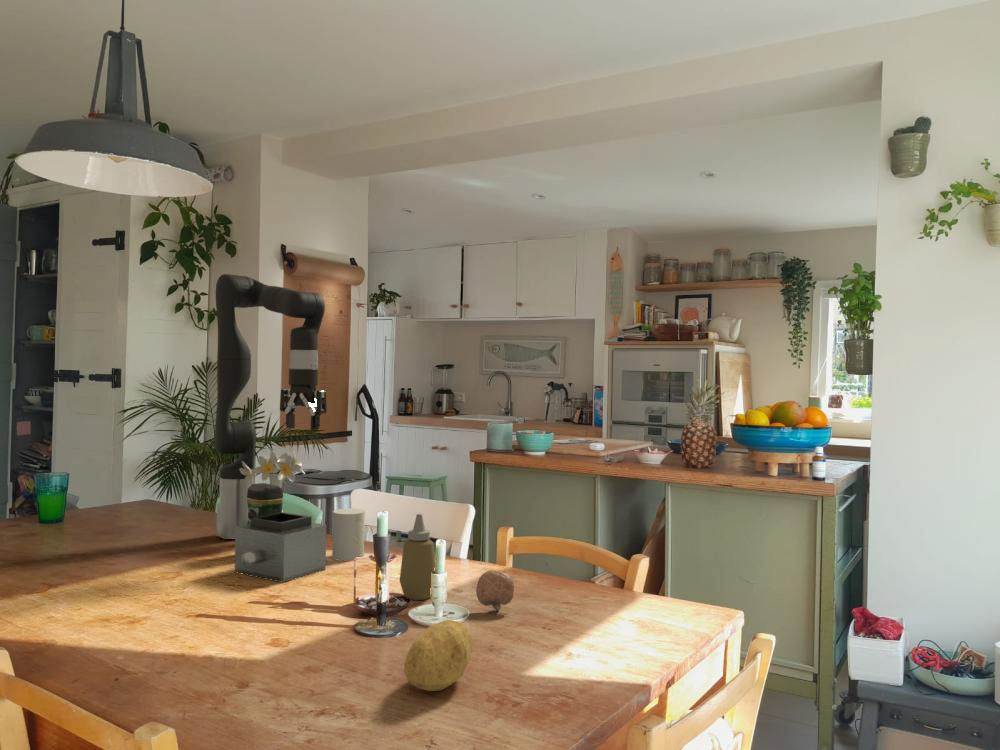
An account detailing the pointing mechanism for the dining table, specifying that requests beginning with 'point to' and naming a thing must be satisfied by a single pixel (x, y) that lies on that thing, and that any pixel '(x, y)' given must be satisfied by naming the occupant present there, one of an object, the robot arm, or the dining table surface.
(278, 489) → the coffee jar
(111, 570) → the dining table surface
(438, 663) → the potato
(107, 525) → the dining table surface
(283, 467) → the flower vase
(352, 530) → the grey cylinder
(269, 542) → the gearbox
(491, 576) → the mushroom
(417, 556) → the squeeze bottle
